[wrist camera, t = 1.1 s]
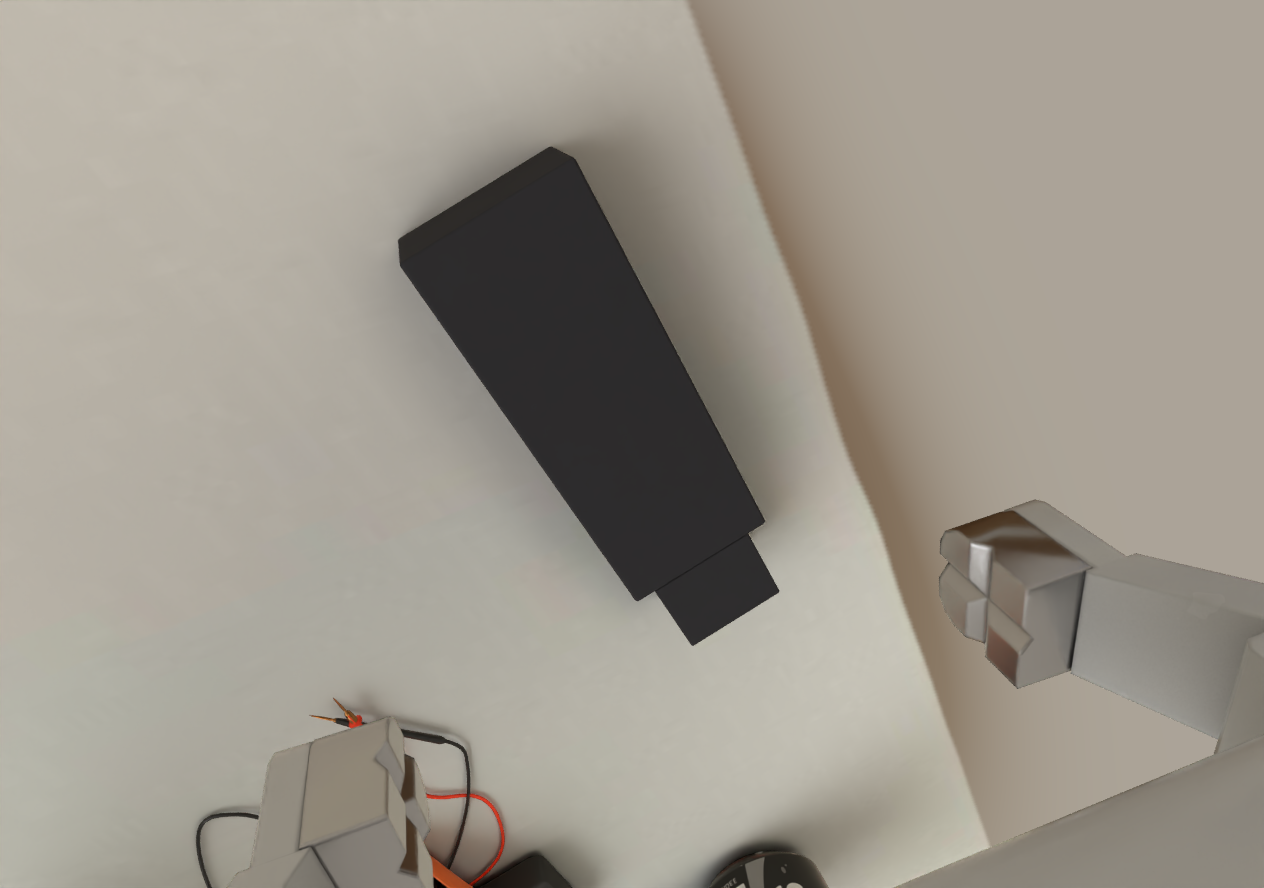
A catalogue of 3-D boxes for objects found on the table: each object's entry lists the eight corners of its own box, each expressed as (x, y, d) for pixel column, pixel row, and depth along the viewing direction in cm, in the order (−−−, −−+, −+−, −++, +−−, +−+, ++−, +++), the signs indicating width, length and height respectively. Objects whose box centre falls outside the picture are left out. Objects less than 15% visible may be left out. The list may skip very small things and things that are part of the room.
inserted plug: (396, 239, 21) (398, 264, 19) (551, 144, 21) (574, 156, 19) (649, 605, 29) (675, 657, 27) (761, 536, 29) (797, 581, 27)
